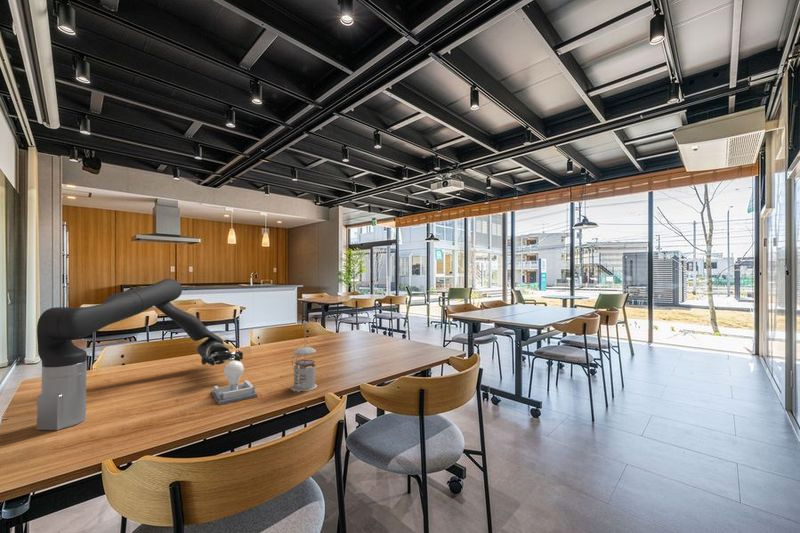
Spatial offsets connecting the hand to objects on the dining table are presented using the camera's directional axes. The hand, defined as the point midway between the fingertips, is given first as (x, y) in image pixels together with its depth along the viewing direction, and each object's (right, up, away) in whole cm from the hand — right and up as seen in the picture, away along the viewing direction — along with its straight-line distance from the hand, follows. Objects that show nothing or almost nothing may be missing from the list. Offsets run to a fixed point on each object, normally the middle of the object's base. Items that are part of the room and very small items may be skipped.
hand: (226, 360), depth 129 cm
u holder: (+7, -10, -8) cm, 14 cm away
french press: (+29, -10, +1) cm, 31 cm away
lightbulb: (+7, -9, -8) cm, 14 cm away
